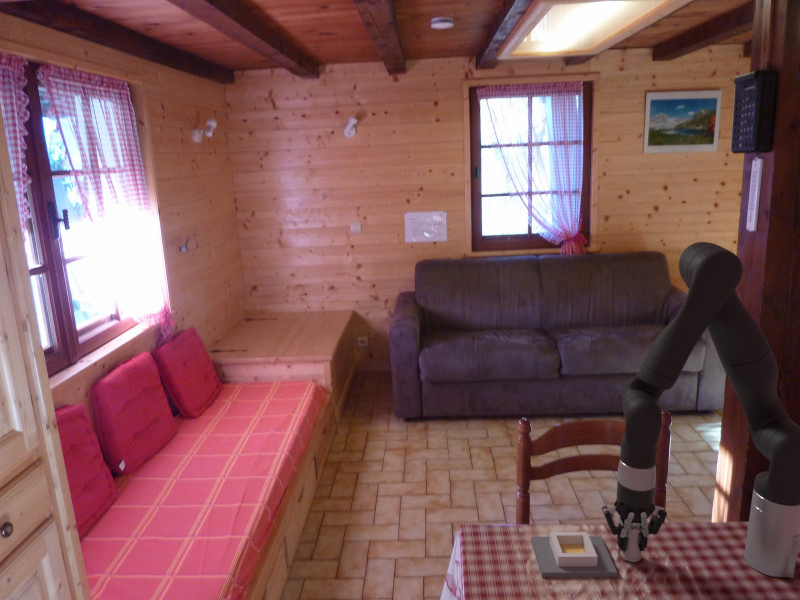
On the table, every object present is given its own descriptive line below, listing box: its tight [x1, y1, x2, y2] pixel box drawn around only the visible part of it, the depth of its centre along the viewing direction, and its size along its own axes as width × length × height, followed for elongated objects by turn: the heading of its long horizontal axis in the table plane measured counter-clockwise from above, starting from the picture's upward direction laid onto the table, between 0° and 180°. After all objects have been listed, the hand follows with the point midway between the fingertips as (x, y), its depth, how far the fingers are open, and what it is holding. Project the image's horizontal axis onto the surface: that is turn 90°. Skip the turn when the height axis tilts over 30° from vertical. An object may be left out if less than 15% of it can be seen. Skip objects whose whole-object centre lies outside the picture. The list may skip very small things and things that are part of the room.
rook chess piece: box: [619, 523, 643, 563], centre depth 131 cm, size 4×4×8 cm
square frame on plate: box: [530, 531, 618, 578], centre depth 132 cm, size 16×12×4 cm
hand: (631, 548), depth 131 cm, fingers closed on rook chess piece, 3 cm apart
